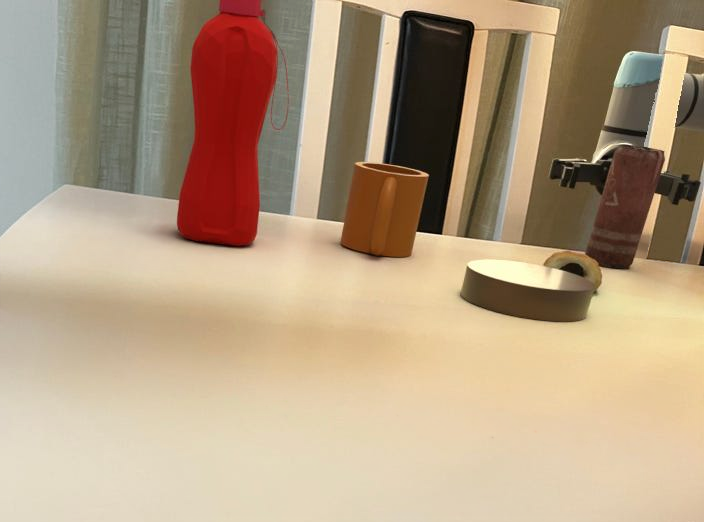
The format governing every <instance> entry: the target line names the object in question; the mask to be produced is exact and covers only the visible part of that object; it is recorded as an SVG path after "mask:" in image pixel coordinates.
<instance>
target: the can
mask: <svg viewBox="0 0 704 522" xmlns="http://www.w3.org/2000/svg"><path fill="white" fill-rule="evenodd" d="M665 162H666V155H665V150H662V149H657V148H653V147H641V146H634V145H625V144H620V145H619V147H618V148H617V150H616V151H615V152H614V156H613V159H612V162H611V166H610V169H609V173H608V176H607V180H606V183H605V187H604V190H603V194H602V196H601V197H600V201H599V205H598V208H597V211H596V215H595V218H594V221H593V226H592V228H591V232H590V235H589V239H588V242H587V245H586V246H587V247H586V249H585V253H584V254H585V255H587V256H589V257H590V258H592V259H594V260H596V262H598V265H599V267H602V268H603V267H604V268H610V269H617V270H625V269H629V268H630V267H631V266H632V265H633V263H634V260H635V258H636V253H637V250H638V247H639V244H640V241H641V238H642V234H643V231H644V228H645V225H646V222H647V218H648V216H649V212H650V209H651V206H652V203H653V200H654V196H655V194H656V193H655V190H656V187H657V184H658V181H659V178H660V174H661V172H663V168H664V165H665Z"/></svg>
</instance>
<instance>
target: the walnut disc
mask: <svg viewBox="0 0 704 522" xmlns="http://www.w3.org/2000/svg"><path fill="white" fill-rule="evenodd" d="M594 289H595V285H594V283H593V282H591V281H589V280H588V279H586V278H583V277H581V276H578V275H576V274H572V273H569V272H566V271H562V270H558V269H554V268H550V267H545V266H543V265H541V264H535V263H529V262H521V261H515V260H506V259H505V260H504V259H476V260H471V261H469V262H468V263H467V264H466V268H465V273H464V276H463V280H462V285H461V290H460V296H461V297H462V298H463V300H465V301H466V302H469V303H470V304H473V305H475V306H478V307H480V308H482V309H486V310H489V311H492V312H495V313H501V314H504V315H509V316H513V317H517V318H524V319H528V320H536V321H537V320H538V321H545V322H546V321H547V322H564V323H565V322H576V321H577V322H578V321H581V320H584V319H585V318H586V317H587V315H588V312H589V308H590V306H591V302H592V300H593V299H592V298H593V295H594V292H595V291H594Z"/></svg>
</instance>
